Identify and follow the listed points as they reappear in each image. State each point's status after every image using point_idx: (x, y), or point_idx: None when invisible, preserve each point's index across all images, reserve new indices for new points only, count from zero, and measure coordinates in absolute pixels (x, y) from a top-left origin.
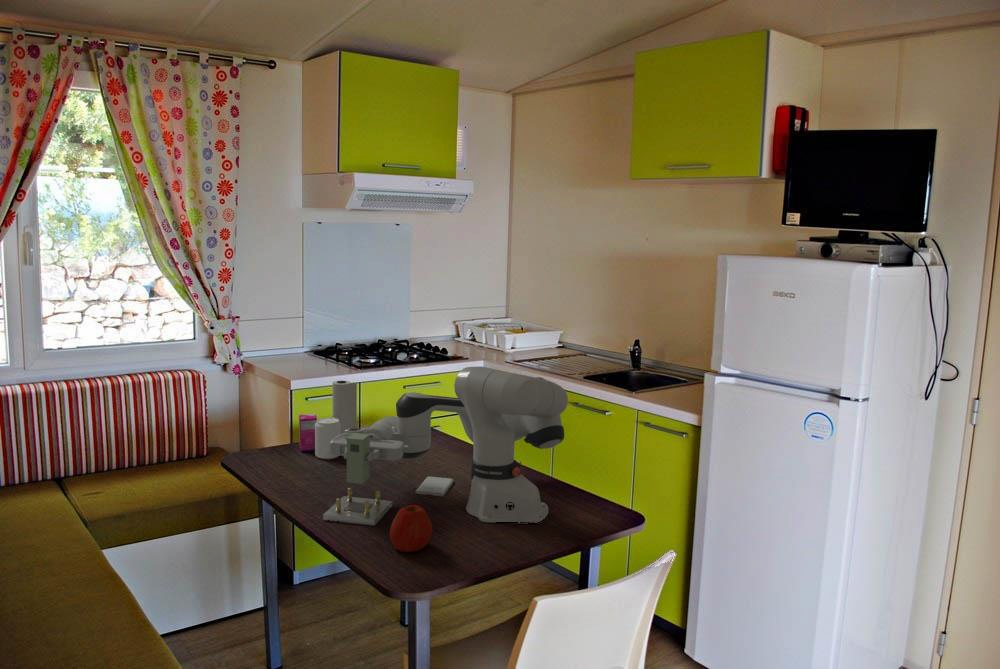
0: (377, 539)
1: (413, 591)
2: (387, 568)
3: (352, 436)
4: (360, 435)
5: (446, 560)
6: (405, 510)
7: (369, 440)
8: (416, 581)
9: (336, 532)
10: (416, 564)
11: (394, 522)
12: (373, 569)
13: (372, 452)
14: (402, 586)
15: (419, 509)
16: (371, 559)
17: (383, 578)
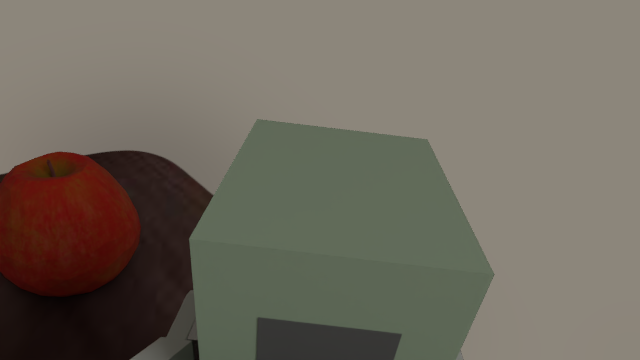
0: (177, 296)
1: (122, 151)
2: (159, 193)
3: (405, 169)
4: (328, 195)
5: None
6: (78, 163)
7: (200, 306)
8: (109, 167)
9: None
10: None
11: (122, 188)
12: (188, 190)
13: (168, 345)
14: (138, 159)
15: (24, 169)
16: (193, 215)
17: (170, 172)
